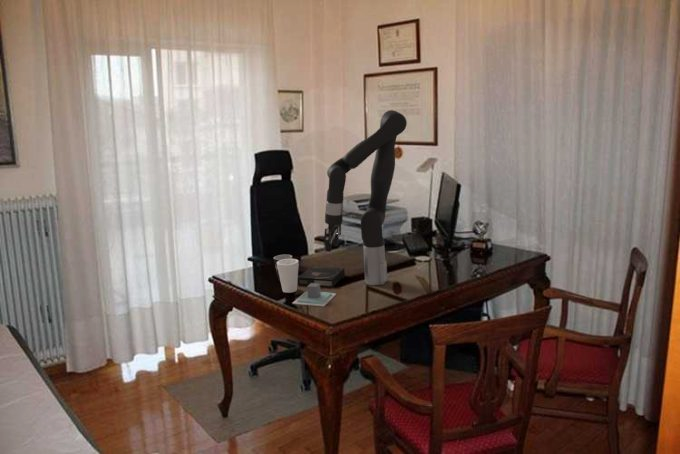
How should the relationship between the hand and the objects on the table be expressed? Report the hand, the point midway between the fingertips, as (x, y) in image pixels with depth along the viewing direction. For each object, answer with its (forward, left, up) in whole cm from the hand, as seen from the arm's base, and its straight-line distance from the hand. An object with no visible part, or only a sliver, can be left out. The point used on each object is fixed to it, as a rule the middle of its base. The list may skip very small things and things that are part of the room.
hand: (331, 248), depth 245 cm
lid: (+3, +15, -17) cm, 23 cm away
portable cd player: (+9, -8, -18) cm, 22 cm away
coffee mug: (+28, -10, -18) cm, 35 cm away
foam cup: (+18, +7, -18) cm, 26 cm away
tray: (+3, +15, -18) cm, 23 cm away
